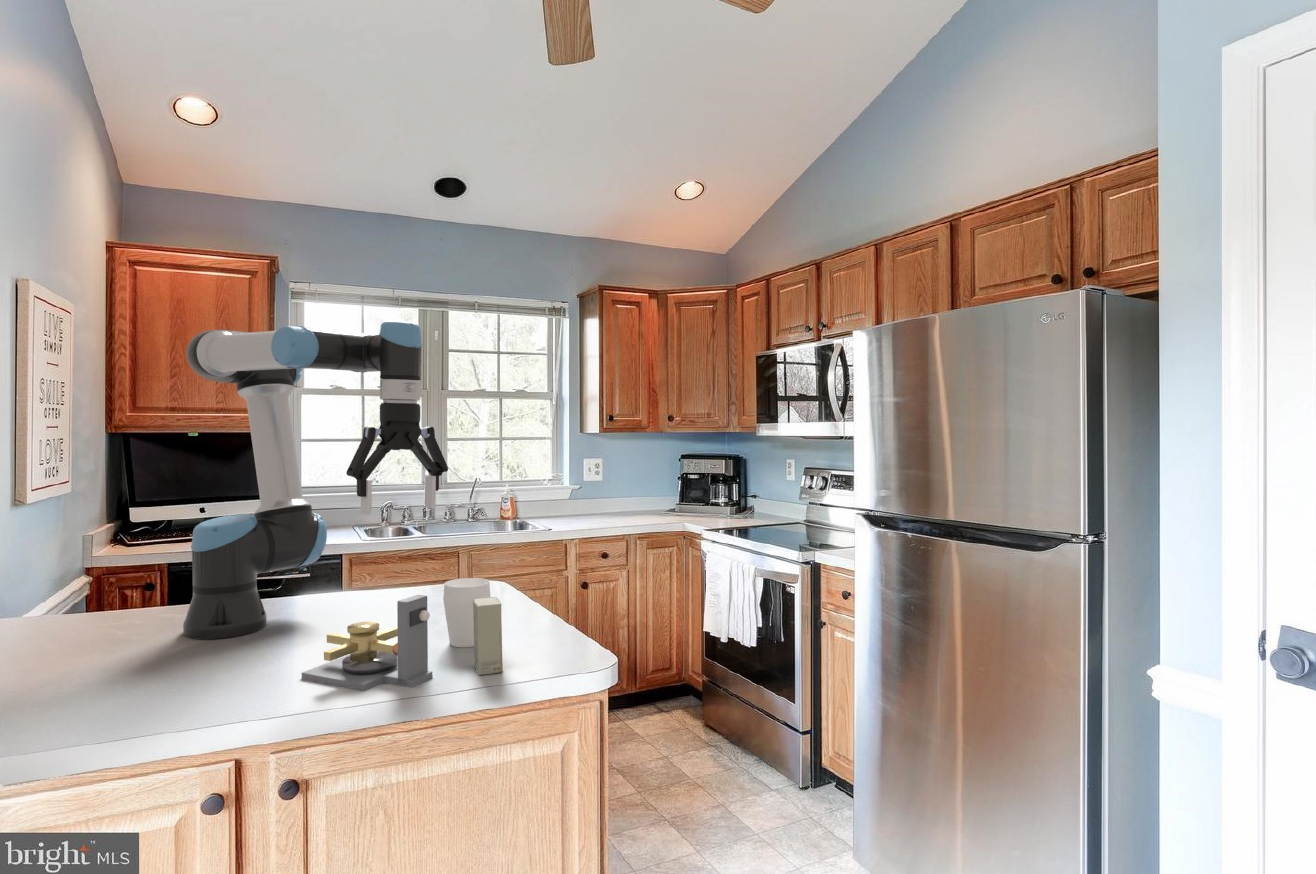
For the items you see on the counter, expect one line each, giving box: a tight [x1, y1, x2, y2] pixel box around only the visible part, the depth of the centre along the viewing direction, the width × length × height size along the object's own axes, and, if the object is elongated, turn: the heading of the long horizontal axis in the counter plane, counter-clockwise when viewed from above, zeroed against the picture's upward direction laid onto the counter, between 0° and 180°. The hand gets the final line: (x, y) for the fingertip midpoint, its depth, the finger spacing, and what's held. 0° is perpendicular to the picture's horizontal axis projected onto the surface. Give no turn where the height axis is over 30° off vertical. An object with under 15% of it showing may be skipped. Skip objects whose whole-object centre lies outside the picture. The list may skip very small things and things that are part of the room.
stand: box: [301, 594, 433, 692], centre depth 131 cm, size 20×14×14 cm
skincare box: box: [473, 596, 504, 676], centre depth 134 cm, size 6×4×12 cm
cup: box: [442, 577, 491, 649], centre depth 149 cm, size 9×9×12 cm
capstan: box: [323, 621, 398, 674], centre depth 132 cm, size 17×16×7 cm
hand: (399, 510), depth 147 cm, fingers open, 13 cm apart
